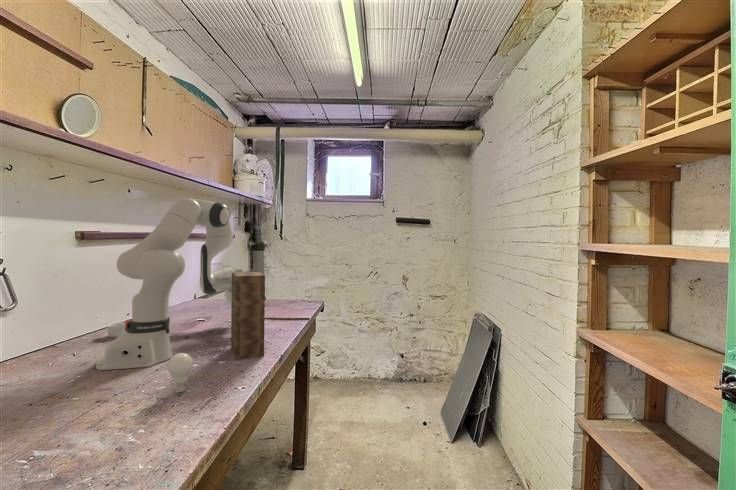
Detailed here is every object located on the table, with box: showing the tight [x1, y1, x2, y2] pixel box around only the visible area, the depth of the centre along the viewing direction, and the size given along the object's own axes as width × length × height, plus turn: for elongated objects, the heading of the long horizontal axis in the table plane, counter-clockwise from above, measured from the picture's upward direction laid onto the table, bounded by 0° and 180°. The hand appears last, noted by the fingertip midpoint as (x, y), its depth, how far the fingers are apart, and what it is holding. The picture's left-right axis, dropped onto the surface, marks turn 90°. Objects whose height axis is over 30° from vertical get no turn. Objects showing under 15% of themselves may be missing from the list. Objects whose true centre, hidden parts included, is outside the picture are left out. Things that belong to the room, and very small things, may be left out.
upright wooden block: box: [230, 271, 266, 361], centre depth 134 cm, size 10×14×30 cm
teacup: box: [106, 321, 126, 339], centre depth 152 cm, size 10×8×5 cm
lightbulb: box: [166, 352, 194, 394], centre depth 99 cm, size 6×6×11 cm
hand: (239, 275), depth 155 cm, fingers closed on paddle, 3 cm apart
